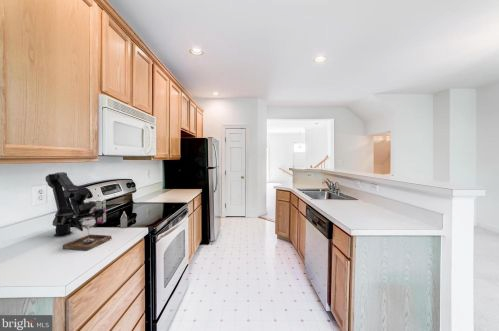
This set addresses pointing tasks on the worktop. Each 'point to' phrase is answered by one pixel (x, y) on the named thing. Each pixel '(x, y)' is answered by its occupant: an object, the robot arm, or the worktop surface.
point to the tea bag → (123, 220)
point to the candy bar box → (99, 205)
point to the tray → (86, 246)
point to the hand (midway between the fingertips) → (89, 228)
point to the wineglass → (88, 225)
